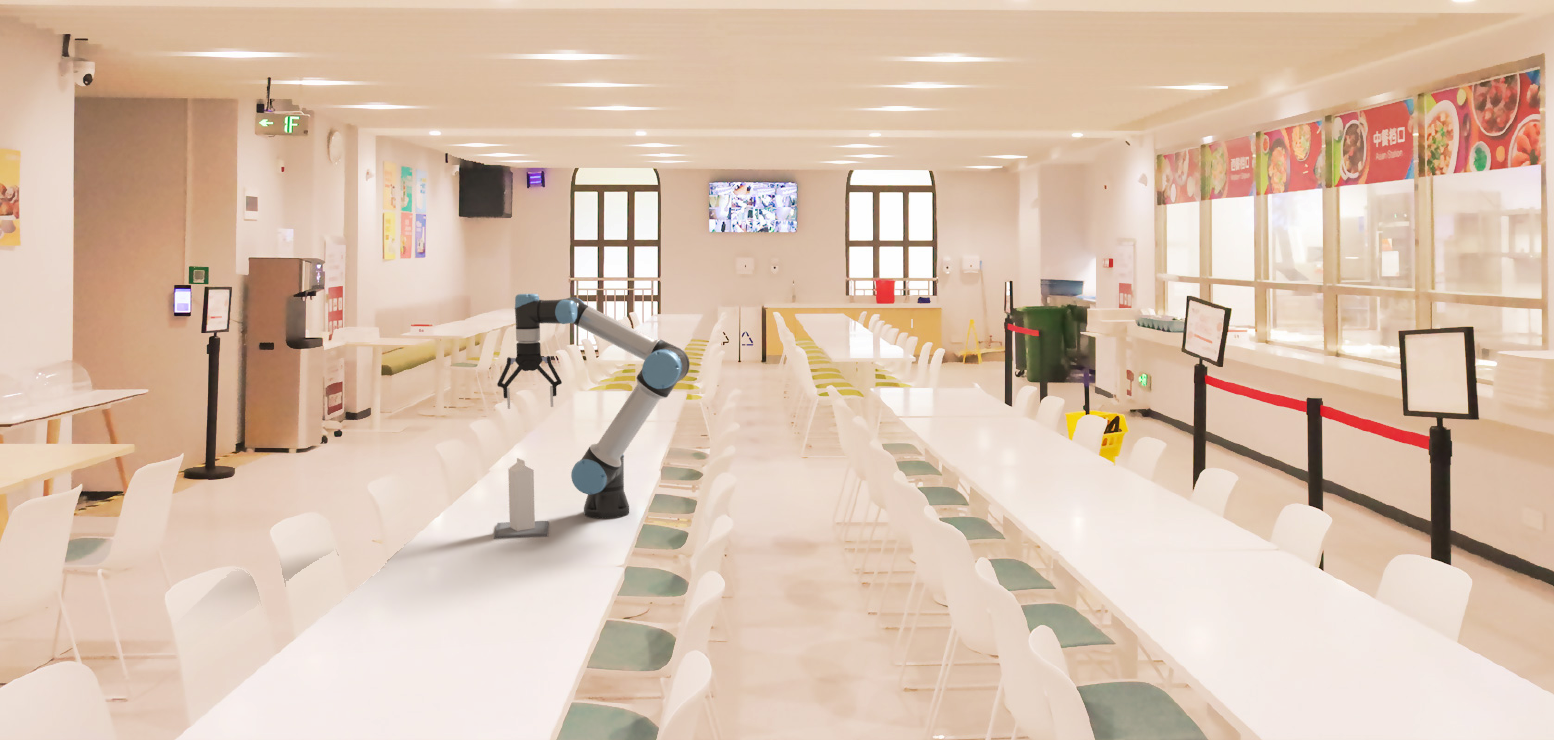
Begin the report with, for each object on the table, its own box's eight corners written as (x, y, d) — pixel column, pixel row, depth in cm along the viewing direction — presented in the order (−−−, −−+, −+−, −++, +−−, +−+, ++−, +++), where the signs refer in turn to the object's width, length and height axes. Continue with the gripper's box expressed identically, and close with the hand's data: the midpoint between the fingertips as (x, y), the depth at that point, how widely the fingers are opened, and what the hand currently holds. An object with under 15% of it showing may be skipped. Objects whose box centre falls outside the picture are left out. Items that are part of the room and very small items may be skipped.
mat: (548, 523, 352) (548, 520, 352) (547, 536, 336) (547, 533, 336) (497, 525, 349) (497, 522, 349) (494, 538, 333) (494, 535, 333)
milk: (517, 531, 338) (515, 462, 335) (509, 527, 343) (507, 458, 340) (535, 528, 342) (533, 459, 339) (527, 524, 347) (525, 456, 344)
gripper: (567, 339, 355) (568, 403, 357) (488, 342, 349) (490, 407, 351) (568, 341, 347) (570, 407, 350) (488, 344, 341) (490, 410, 344)
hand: (530, 407), depth 350 cm, fingers open, 13 cm apart
